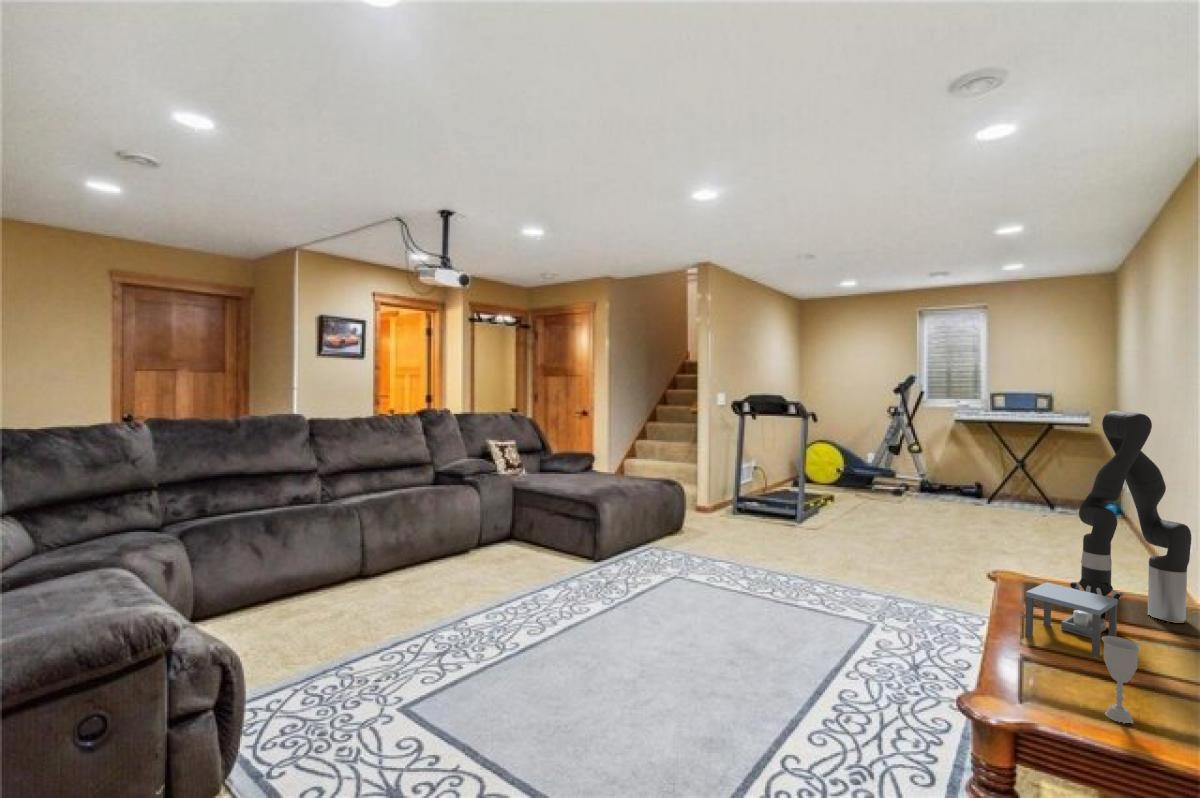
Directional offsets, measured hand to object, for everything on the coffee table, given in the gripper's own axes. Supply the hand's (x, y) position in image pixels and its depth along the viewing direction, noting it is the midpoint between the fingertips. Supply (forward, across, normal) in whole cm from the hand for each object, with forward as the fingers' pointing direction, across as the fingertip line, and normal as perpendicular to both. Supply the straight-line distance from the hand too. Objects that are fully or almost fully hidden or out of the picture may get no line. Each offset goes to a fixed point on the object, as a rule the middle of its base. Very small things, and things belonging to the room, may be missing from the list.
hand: (1095, 617), depth 190 cm
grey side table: (+2, 0, +23) cm, 23 cm away
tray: (+2, 0, +7) cm, 7 cm away
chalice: (+2, -23, +65) cm, 69 cm away
